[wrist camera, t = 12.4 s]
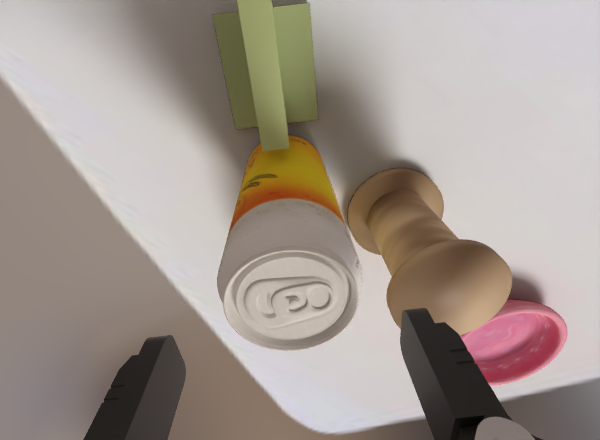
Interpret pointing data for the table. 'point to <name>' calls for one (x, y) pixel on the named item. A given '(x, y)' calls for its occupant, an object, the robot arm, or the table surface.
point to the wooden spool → (426, 252)
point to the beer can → (288, 253)
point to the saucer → (516, 341)
